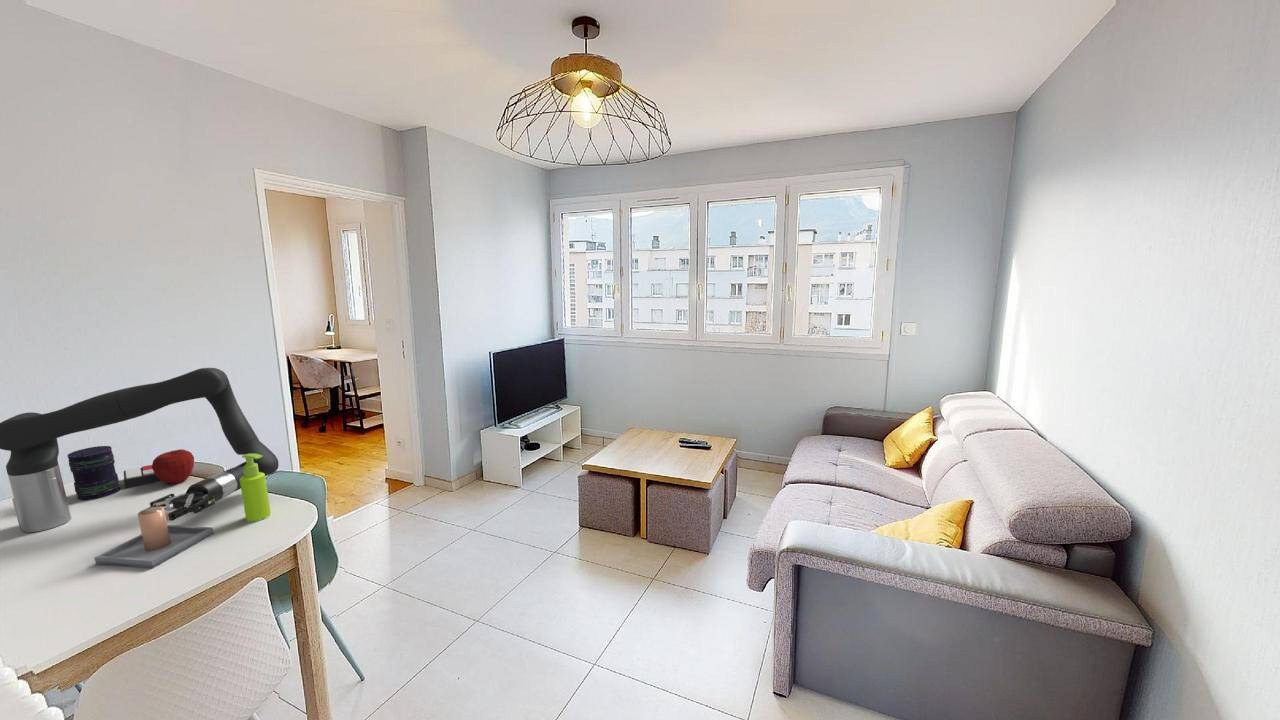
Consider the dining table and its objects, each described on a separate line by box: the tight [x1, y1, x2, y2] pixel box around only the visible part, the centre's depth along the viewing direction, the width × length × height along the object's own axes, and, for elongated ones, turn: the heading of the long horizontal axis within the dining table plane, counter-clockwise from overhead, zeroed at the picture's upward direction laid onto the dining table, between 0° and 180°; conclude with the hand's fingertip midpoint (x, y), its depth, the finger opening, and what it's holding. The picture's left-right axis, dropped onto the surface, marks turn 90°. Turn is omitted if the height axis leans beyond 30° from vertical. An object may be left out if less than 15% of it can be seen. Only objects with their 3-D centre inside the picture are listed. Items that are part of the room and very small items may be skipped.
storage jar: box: [66, 445, 121, 501], centre depth 160 cm, size 10×10×15 cm
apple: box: [151, 448, 195, 485], centre depth 170 cm, size 11×11×12 cm
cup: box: [137, 506, 171, 551], centre depth 130 cm, size 5×5×10 cm
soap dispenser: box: [240, 453, 271, 522], centre depth 145 cm, size 6×7×20 cm
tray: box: [94, 524, 215, 569], centre depth 131 cm, size 16×16×2 cm
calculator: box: [123, 464, 162, 490], centre depth 174 cm, size 11×4×15 cm
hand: (155, 516), depth 130 cm, fingers open, 8 cm apart
